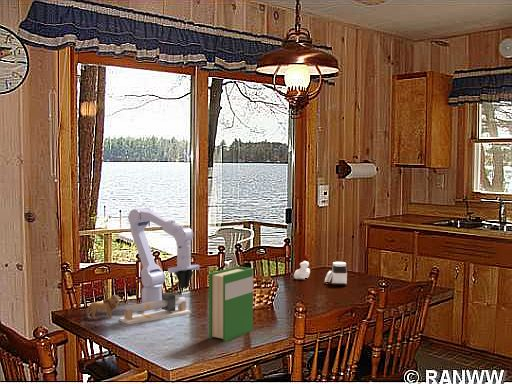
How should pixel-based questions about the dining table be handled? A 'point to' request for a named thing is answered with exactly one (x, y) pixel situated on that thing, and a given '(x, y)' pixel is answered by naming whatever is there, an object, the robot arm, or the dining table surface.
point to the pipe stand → (153, 315)
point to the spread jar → (337, 274)
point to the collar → (169, 301)
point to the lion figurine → (104, 306)
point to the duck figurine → (302, 271)
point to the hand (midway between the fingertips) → (183, 287)
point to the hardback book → (230, 302)
